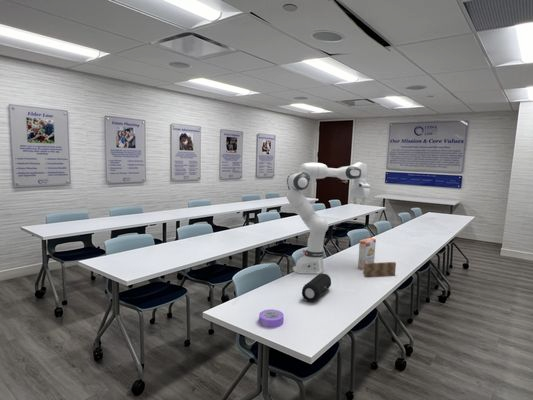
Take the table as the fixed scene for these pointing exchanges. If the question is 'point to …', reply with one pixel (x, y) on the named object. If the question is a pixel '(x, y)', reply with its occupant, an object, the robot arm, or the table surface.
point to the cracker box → (366, 252)
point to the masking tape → (271, 318)
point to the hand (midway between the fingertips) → (358, 204)
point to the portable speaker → (316, 287)
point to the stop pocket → (379, 269)
